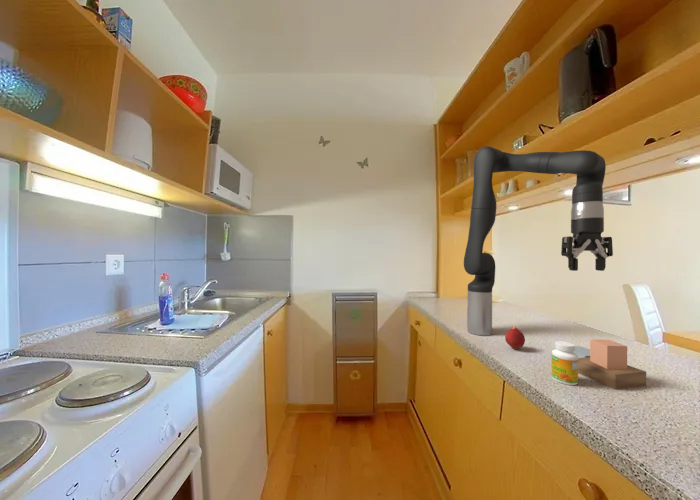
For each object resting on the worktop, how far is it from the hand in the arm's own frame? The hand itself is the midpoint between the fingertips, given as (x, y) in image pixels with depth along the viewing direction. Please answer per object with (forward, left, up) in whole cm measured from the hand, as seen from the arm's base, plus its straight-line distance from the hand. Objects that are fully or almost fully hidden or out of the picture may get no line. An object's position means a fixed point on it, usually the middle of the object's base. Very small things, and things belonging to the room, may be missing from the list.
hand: (586, 270), depth 81 cm
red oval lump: (-11, -15, -28) cm, 34 cm away
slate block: (+1, -2, -28) cm, 28 cm away
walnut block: (+10, -4, -29) cm, 31 cm away
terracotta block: (+10, -4, -25) cm, 27 cm away
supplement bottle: (+11, -17, -28) cm, 35 cm away
